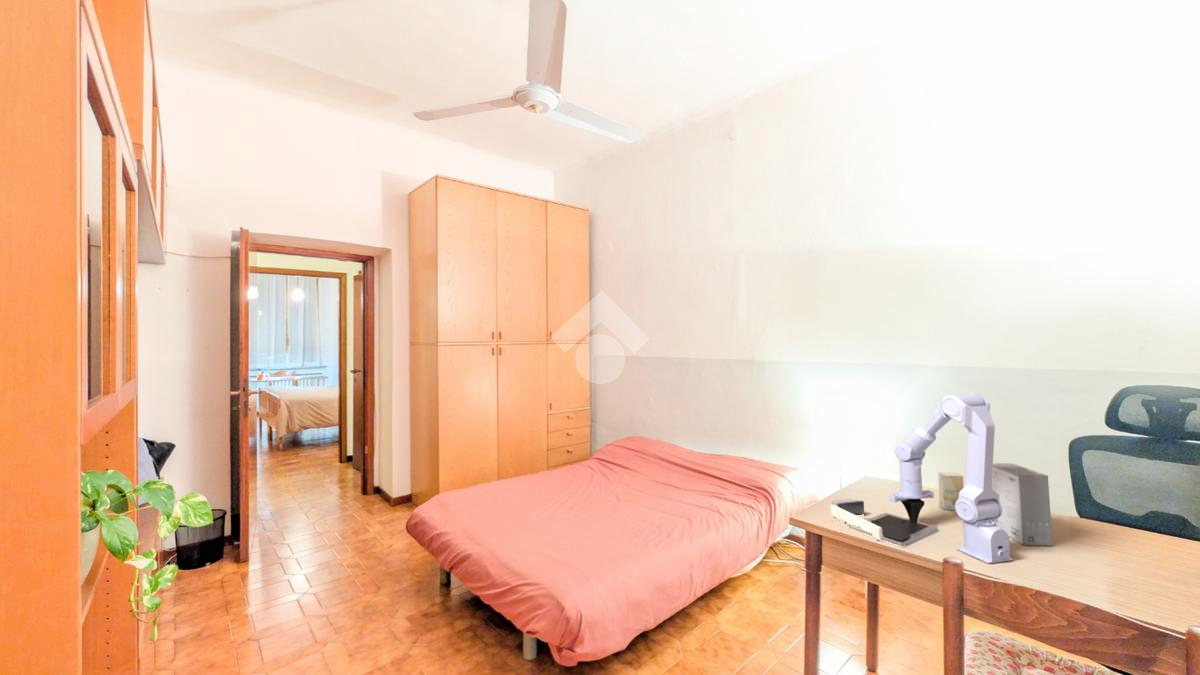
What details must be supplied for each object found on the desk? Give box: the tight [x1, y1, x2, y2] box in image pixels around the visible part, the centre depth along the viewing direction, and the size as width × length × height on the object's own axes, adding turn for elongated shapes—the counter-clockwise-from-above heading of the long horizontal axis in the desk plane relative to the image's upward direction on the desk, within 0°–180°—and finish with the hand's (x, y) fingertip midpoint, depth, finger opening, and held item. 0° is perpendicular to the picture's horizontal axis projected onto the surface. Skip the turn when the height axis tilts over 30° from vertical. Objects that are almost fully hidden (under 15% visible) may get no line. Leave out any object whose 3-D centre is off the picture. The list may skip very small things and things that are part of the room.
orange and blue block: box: [831, 498, 860, 506], centre depth 162 cm, size 4×9×5 cm, turn 100°
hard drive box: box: [992, 462, 1053, 547], centre depth 140 cm, size 16×8×20 cm, turn 168°
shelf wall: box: [830, 504, 883, 540], centre depth 151 cm, size 22×1×4 cm, turn 10°
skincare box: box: [937, 471, 964, 511], centre depth 164 cm, size 6×4×12 cm
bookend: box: [837, 500, 865, 515], centre depth 159 cm, size 3×10×5 cm, turn 100°
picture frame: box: [848, 512, 939, 546], centre depth 147 cm, size 16×3×21 cm
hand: (913, 522), depth 150 cm, fingers closed, pressing on picture frame
